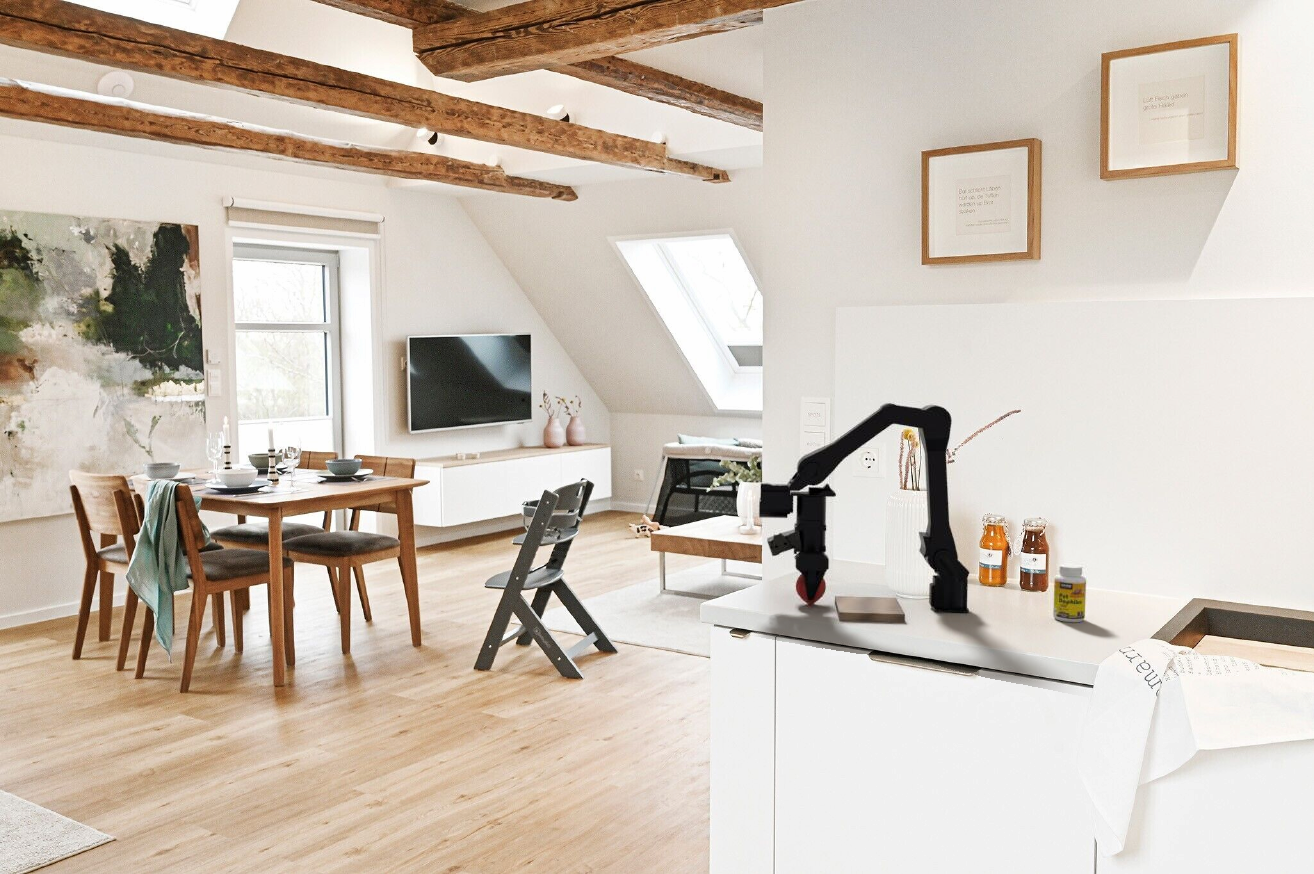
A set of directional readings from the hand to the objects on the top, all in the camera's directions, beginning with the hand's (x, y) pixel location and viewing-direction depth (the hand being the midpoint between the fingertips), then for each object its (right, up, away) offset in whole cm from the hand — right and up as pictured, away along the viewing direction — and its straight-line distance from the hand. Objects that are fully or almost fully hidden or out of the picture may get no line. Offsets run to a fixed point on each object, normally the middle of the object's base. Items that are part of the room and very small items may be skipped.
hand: (809, 596), depth 213 cm
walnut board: (+10, -2, -6) cm, 12 cm away
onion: (0, -2, 0) cm, 2 cm away
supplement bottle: (+47, -3, -11) cm, 48 cm away
